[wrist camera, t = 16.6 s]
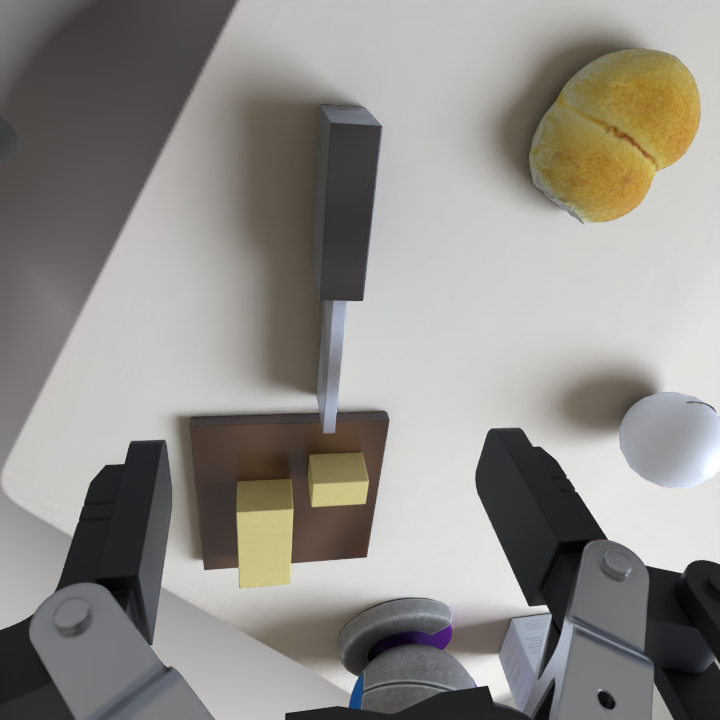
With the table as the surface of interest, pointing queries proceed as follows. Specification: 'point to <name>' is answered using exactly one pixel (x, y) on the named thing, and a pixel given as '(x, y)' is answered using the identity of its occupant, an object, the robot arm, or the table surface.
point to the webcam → (400, 655)
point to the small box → (522, 654)
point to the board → (283, 461)
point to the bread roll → (614, 132)
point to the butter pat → (337, 479)
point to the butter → (264, 532)
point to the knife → (341, 232)
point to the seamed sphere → (672, 440)
